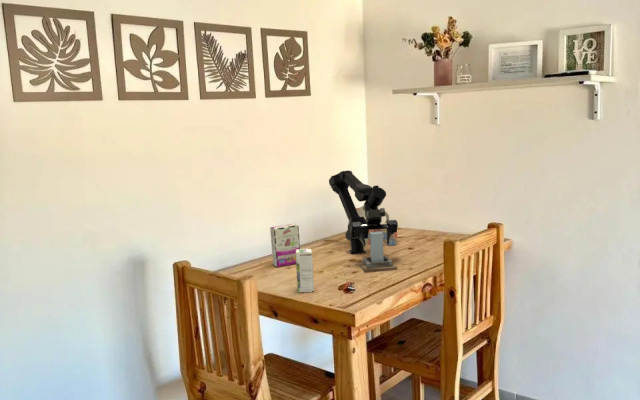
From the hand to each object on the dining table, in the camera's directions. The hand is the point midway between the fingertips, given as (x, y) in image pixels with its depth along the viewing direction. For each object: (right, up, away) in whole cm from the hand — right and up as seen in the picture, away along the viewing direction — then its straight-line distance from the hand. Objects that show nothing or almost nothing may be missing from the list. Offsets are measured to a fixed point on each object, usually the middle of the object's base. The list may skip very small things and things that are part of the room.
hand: (376, 245), depth 231 cm
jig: (0, -9, +2) cm, 9 cm away
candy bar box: (-36, -9, +13) cm, 40 cm away
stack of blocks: (+3, -3, +42) cm, 42 cm away
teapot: (+4, +1, +66) cm, 66 cm away
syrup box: (-27, -14, -23) cm, 39 cm away
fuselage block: (0, -8, +2) cm, 8 cm away
